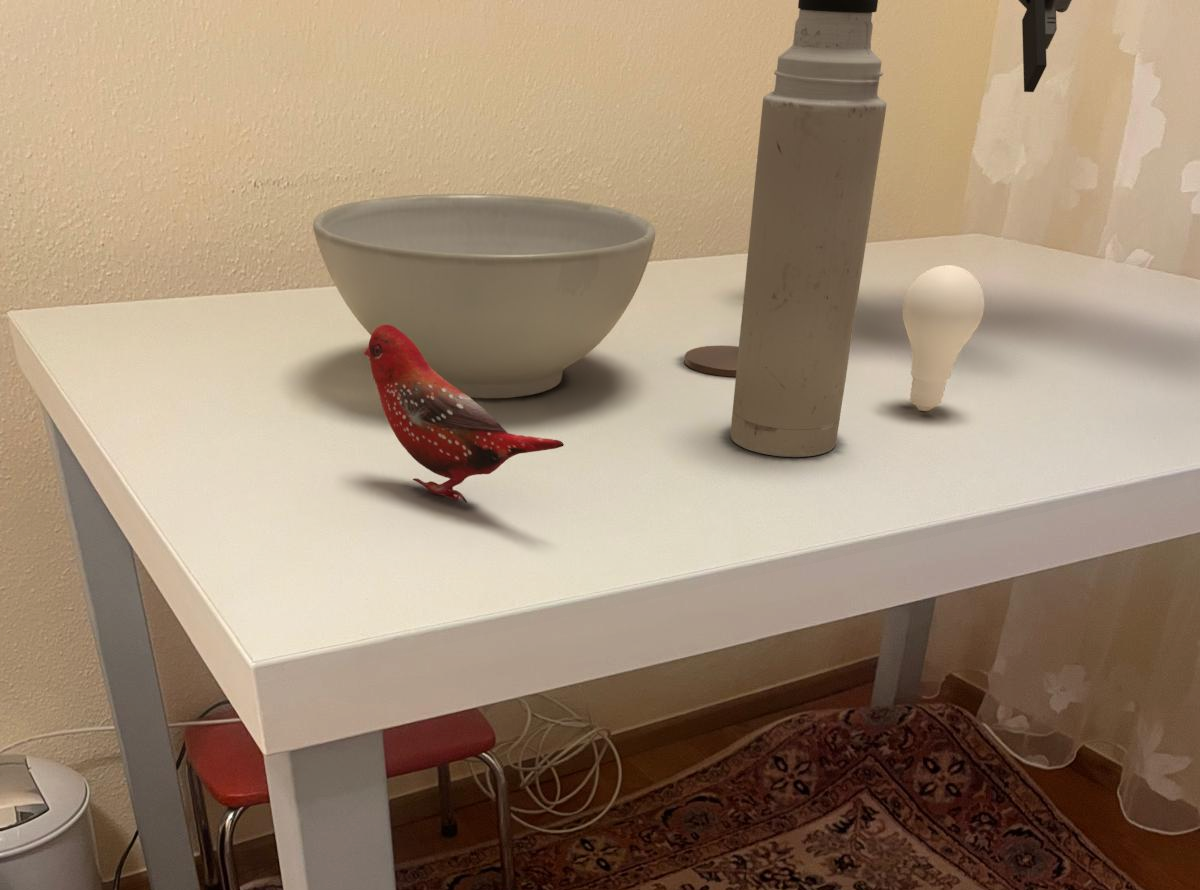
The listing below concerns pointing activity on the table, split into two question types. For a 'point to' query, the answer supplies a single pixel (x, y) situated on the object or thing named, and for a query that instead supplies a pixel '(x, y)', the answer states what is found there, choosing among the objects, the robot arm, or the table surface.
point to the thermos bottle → (808, 232)
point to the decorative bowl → (488, 280)
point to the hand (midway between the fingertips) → (948, 75)
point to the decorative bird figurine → (439, 416)
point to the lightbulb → (939, 327)
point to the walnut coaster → (713, 360)
